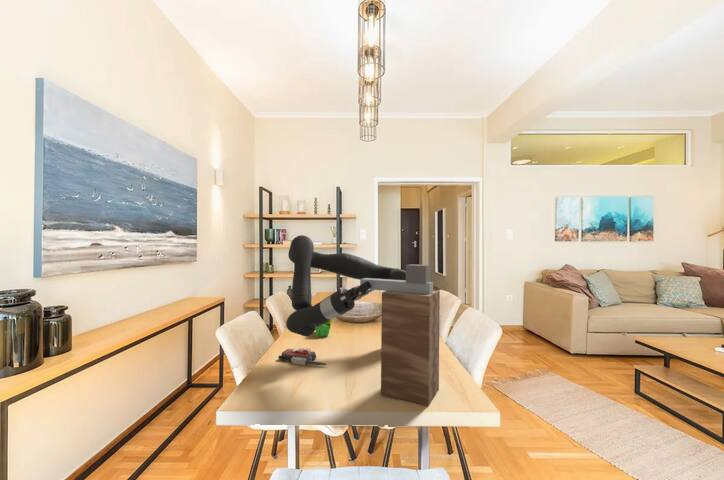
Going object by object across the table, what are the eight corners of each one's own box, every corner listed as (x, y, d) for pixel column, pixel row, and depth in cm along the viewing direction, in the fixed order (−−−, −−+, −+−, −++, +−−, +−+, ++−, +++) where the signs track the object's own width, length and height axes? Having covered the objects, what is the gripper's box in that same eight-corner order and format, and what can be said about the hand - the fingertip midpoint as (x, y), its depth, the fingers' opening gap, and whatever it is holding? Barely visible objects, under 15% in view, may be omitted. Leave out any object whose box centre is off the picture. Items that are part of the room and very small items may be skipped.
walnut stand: (395, 381, 110) (396, 287, 110) (438, 389, 104) (439, 290, 104) (380, 396, 99) (381, 292, 99) (428, 406, 93) (429, 296, 93)
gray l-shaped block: (366, 287, 111) (366, 262, 111) (433, 292, 101) (433, 265, 101) (359, 288, 107) (359, 263, 107) (429, 294, 97) (429, 266, 97)
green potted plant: (314, 331, 170) (314, 308, 170) (332, 331, 171) (332, 308, 171) (314, 337, 158) (314, 313, 158) (333, 337, 159) (333, 313, 159)
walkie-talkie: (274, 362, 126) (325, 369, 121) (275, 350, 126) (325, 356, 121) (286, 355, 135) (334, 361, 129) (286, 344, 135) (334, 349, 129)
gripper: (320, 296, 107) (360, 273, 101) (342, 291, 120) (379, 269, 114) (330, 318, 106) (372, 296, 100) (352, 310, 119) (390, 290, 112)
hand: (376, 282), depth 107 cm, fingers open, 8 cm apart
